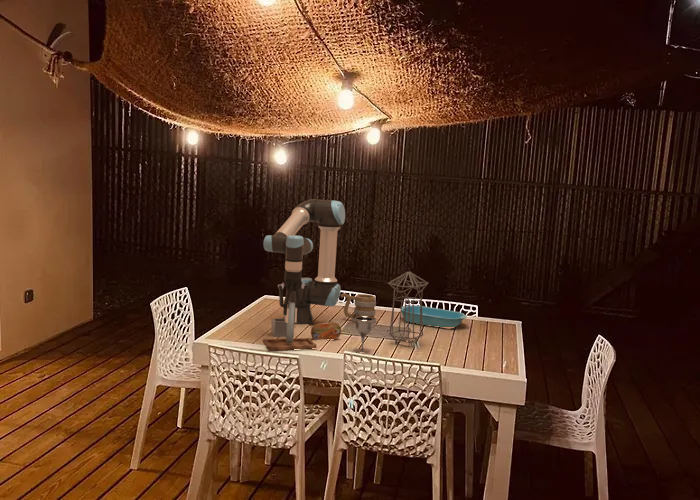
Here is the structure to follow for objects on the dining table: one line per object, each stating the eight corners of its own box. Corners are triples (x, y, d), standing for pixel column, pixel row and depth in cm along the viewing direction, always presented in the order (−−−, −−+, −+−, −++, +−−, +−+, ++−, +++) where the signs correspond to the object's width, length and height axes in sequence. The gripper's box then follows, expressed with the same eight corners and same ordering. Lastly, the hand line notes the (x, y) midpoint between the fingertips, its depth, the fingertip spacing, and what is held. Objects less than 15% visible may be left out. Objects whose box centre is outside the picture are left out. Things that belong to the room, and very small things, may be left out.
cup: (284, 334, 319) (285, 318, 318) (288, 338, 313) (288, 321, 312) (271, 334, 317) (271, 318, 316) (274, 338, 311) (275, 321, 310)
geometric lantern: (413, 350, 305) (416, 275, 301) (383, 344, 313) (386, 271, 309) (427, 343, 318) (431, 271, 314) (398, 338, 327) (401, 268, 322)
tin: (312, 342, 309) (313, 324, 308) (309, 340, 311) (310, 322, 310) (340, 340, 316) (342, 322, 315) (338, 338, 318) (339, 321, 317)
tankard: (375, 319, 363) (377, 292, 362) (375, 325, 351) (377, 297, 349) (339, 317, 364) (341, 290, 362) (338, 322, 351) (339, 294, 350)
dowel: (292, 341, 300) (294, 302, 298) (294, 342, 297) (296, 303, 295) (285, 341, 299) (287, 302, 297) (287, 343, 296) (289, 303, 294)
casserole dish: (470, 325, 365) (471, 312, 365) (459, 333, 345) (460, 319, 344) (407, 315, 380) (408, 303, 379) (393, 322, 360) (394, 309, 359)
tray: (308, 342, 308) (308, 338, 307) (316, 349, 296) (316, 345, 296) (262, 343, 300) (262, 339, 300) (269, 351, 288) (269, 347, 288)
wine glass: (352, 348, 302) (354, 316, 300) (369, 348, 303) (372, 316, 301) (354, 353, 294) (356, 320, 293) (371, 353, 295) (374, 320, 293)
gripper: (308, 269, 300) (305, 319, 303) (273, 269, 294) (271, 320, 297) (313, 271, 293) (310, 323, 296) (277, 271, 288) (275, 324, 290)
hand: (290, 322), depth 297 cm, fingers closed on dowel, 3 cm apart
